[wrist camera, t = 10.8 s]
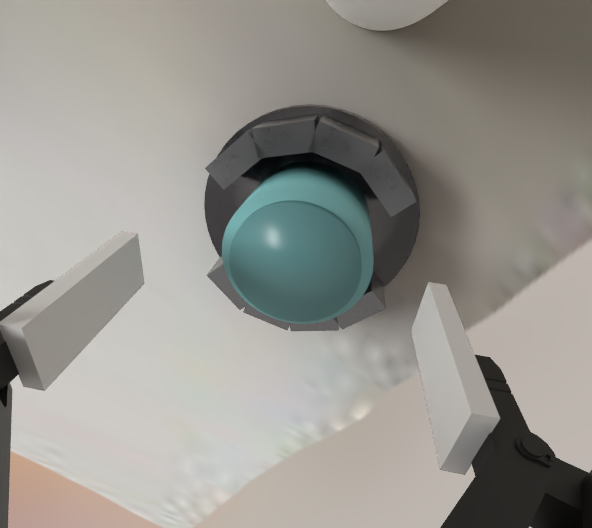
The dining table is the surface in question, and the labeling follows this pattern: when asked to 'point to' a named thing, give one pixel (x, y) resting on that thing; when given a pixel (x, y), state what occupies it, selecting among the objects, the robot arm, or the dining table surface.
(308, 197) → the cap
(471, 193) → the dining table surface
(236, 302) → the dark grey round bowl
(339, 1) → the cup
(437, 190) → the dining table surface
